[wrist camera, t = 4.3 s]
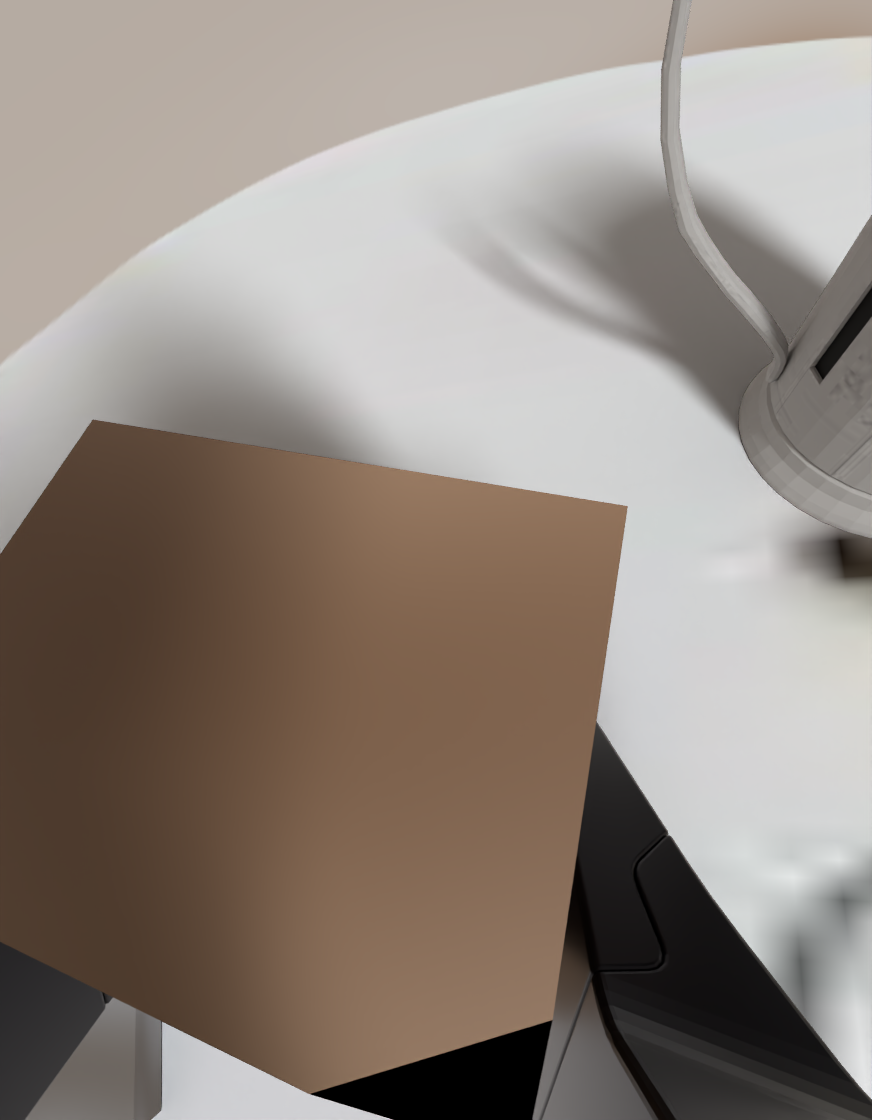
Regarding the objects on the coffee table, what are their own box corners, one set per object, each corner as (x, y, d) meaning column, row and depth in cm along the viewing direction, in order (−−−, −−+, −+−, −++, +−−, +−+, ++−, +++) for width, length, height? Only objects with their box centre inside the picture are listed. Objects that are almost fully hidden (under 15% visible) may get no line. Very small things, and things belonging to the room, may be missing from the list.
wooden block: (492, 932, 13) (331, 2509, 1) (350, 880, 14) (-584, 1402, 2) (543, 669, 15) (659, 281, 4) (422, 639, 16) (207, 252, 5)
